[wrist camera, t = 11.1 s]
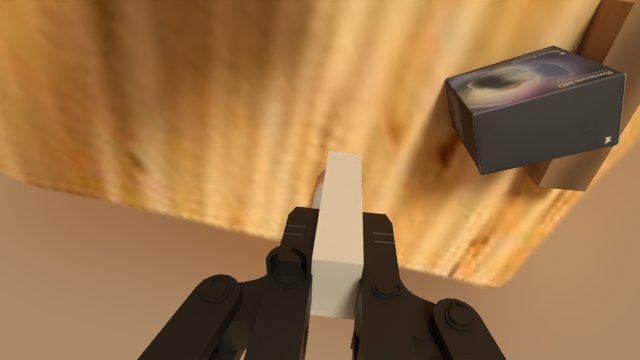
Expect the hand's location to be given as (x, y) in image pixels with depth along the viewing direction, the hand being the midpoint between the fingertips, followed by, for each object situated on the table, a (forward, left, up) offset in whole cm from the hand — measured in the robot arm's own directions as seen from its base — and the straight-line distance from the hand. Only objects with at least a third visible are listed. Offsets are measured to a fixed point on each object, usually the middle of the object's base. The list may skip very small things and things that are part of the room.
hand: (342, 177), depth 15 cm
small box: (+16, -2, -23) cm, 28 cm away
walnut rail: (+24, -2, -22) cm, 33 cm away
